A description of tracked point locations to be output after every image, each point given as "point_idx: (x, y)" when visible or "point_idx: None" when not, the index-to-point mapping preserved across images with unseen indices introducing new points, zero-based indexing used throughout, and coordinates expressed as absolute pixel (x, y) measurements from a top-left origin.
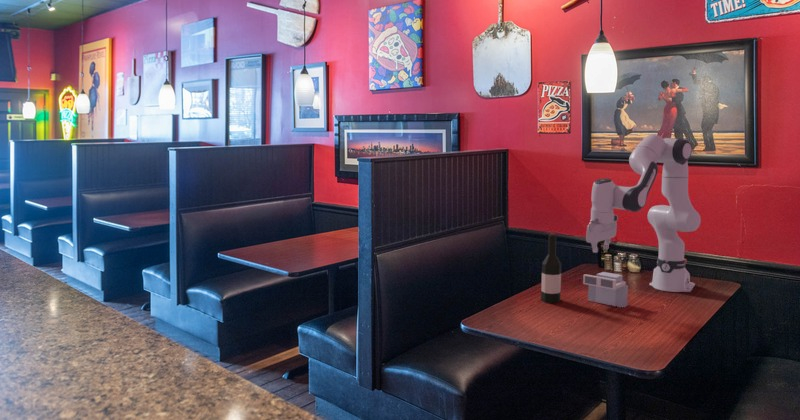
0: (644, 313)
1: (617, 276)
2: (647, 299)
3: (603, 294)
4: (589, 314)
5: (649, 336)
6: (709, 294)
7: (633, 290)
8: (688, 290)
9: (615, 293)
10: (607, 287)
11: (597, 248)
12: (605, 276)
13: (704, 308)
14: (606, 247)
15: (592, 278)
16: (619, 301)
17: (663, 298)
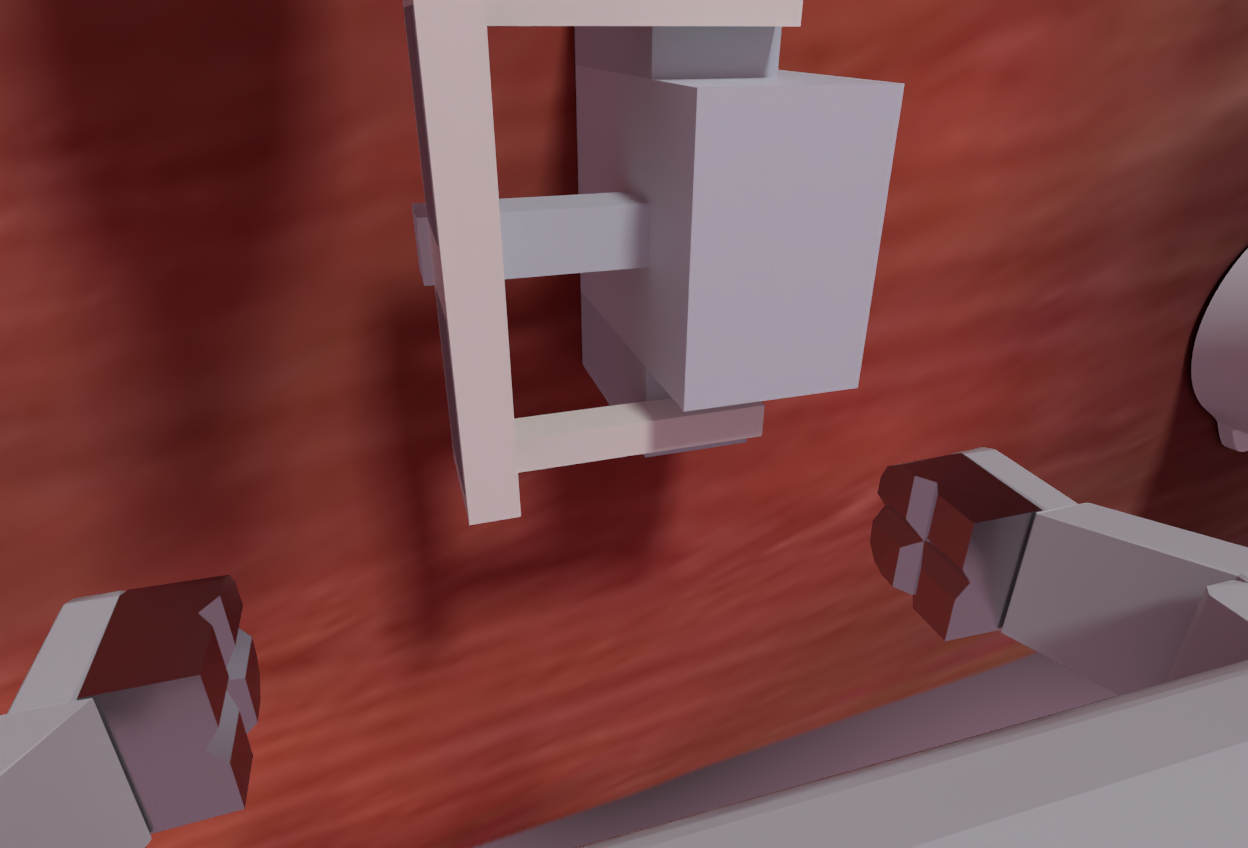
0: (561, 542)
1: (753, 386)
2: (937, 359)
3: (605, 179)
4: (100, 269)
5: None
6: (1208, 533)
7: (1149, 138)
8: (1231, 446)
9: (617, 332)
10: (446, 381)
11: (166, 825)
12: (685, 251)
13: (911, 664)
14: (905, 572)
15: (429, 166)
16: (596, 349)
17: (1015, 418)
